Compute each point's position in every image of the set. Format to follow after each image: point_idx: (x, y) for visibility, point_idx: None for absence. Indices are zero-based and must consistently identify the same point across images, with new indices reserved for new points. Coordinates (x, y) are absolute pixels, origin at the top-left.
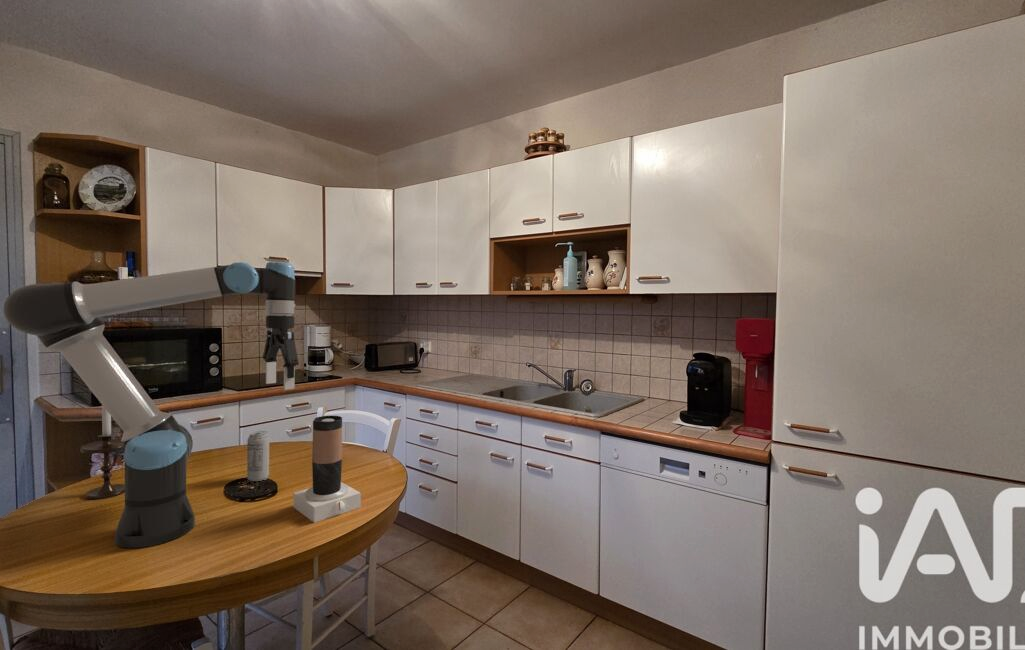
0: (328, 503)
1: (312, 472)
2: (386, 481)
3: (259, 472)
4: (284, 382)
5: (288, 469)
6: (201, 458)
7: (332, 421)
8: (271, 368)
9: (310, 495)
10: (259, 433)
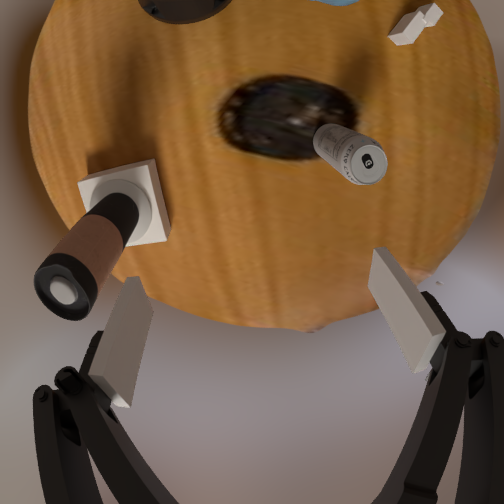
0: (83, 202)
1: (106, 205)
2: (182, 296)
3: (317, 141)
4: (119, 302)
5: (344, 198)
6: (479, 117)
7: (37, 293)
8: (405, 325)
9: (108, 185)
10: (367, 166)
